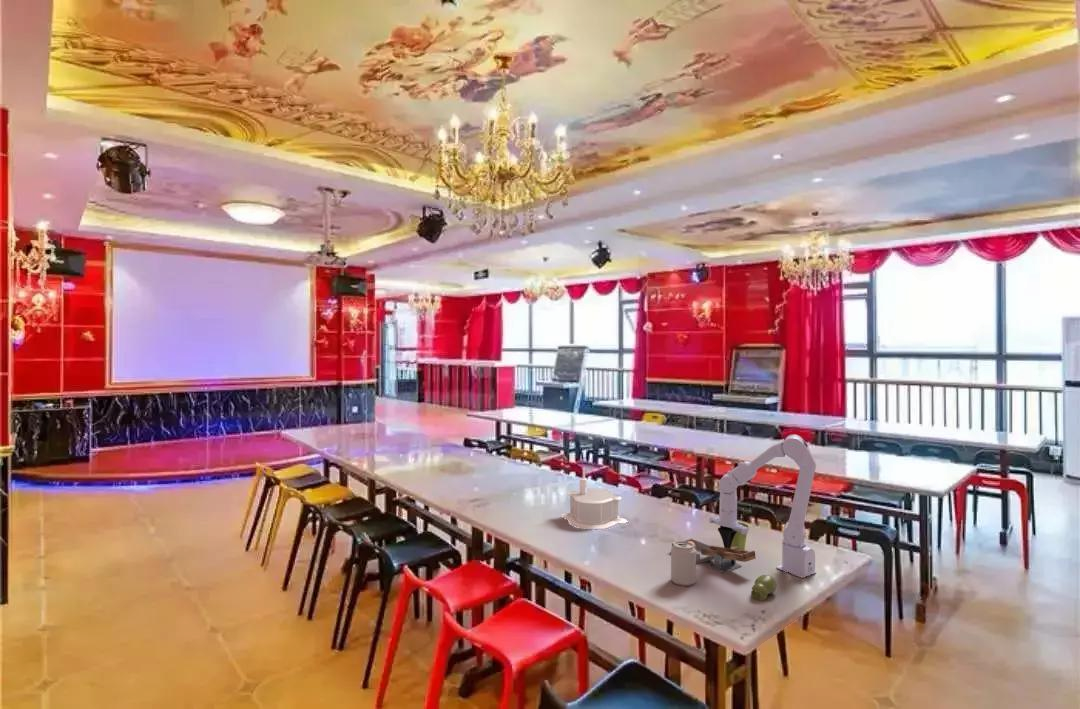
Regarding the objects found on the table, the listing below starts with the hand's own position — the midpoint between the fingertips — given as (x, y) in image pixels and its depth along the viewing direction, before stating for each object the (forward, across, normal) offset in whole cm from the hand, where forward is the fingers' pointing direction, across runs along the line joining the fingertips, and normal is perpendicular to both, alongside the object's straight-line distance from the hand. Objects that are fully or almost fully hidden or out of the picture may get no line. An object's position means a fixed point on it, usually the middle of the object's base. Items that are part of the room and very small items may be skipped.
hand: (727, 548), depth 193 cm
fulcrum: (+3, -4, +6) cm, 8 cm away
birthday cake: (+4, +59, +12) cm, 60 cm away
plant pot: (+4, +5, -11) cm, 12 cm away
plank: (0, -5, +3) cm, 6 cm away
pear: (+4, -24, +14) cm, 28 cm away
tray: (+4, +9, +6) cm, 11 cm away
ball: (+1, +11, +6) cm, 13 cm away
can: (+4, -5, +28) cm, 28 cm away
